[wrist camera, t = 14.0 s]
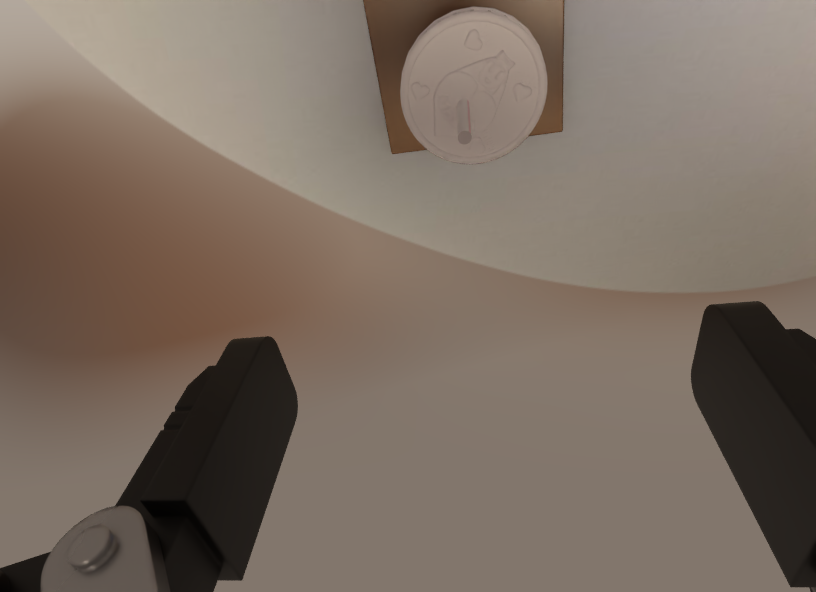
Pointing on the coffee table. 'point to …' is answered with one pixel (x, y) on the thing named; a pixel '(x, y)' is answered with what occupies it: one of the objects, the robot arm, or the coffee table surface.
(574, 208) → the coffee table surface
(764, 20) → the coffee table surface
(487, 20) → the smoothie
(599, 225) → the coffee table surface
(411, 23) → the coaster
